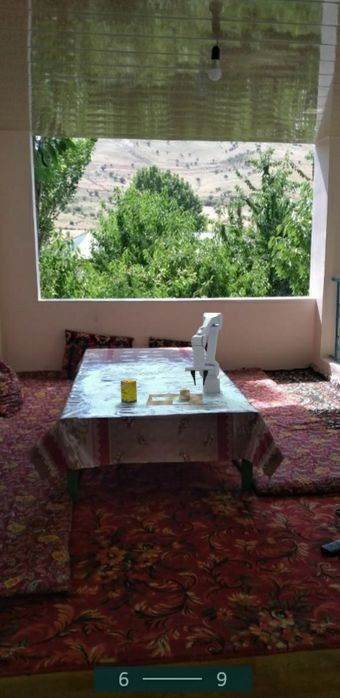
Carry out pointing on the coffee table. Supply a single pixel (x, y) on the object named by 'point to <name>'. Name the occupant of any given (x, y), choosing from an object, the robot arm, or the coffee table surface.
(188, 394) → the block
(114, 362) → the coffee table surface
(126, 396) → the supplement box
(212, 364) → the robot arm
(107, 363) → the coffee table surface
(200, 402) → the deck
